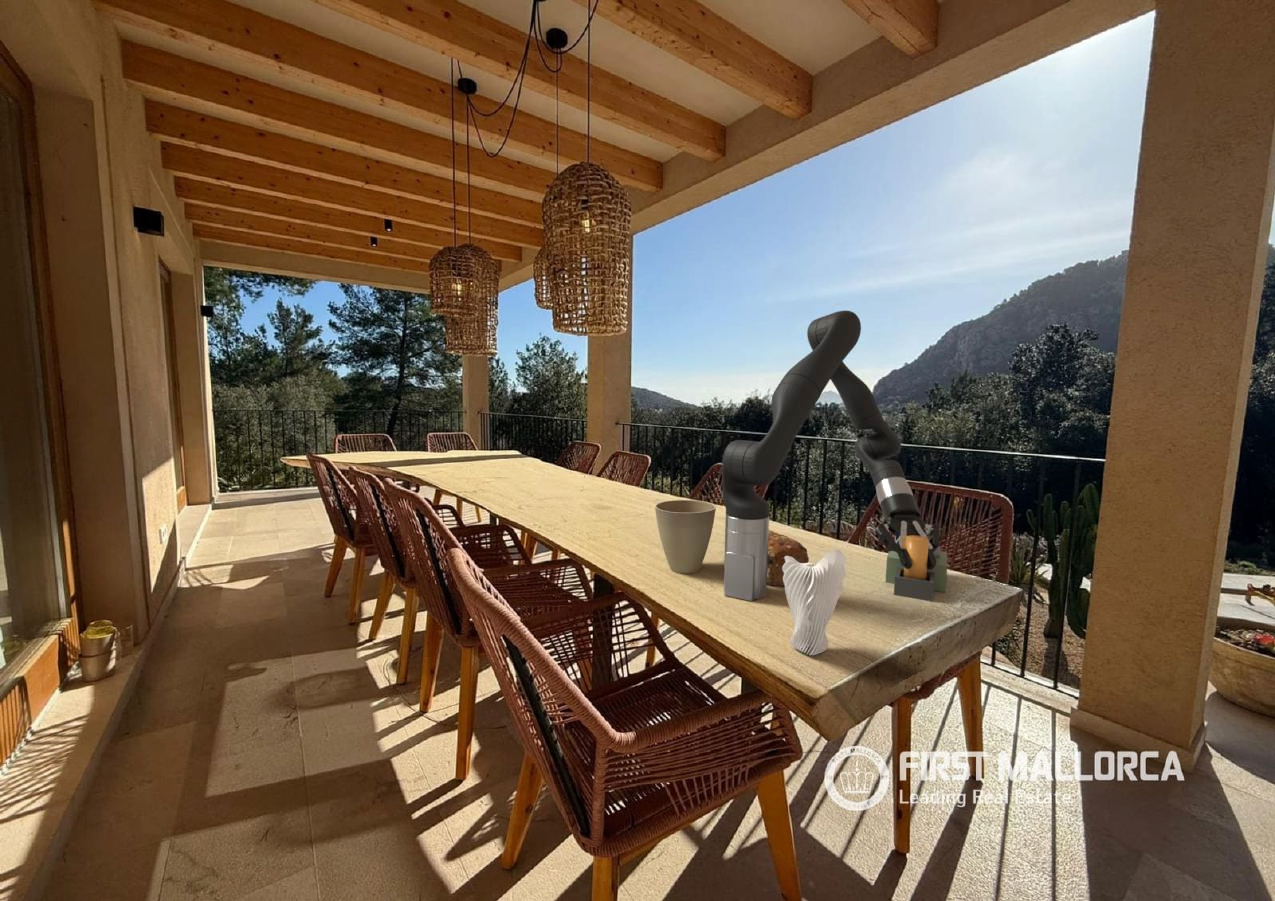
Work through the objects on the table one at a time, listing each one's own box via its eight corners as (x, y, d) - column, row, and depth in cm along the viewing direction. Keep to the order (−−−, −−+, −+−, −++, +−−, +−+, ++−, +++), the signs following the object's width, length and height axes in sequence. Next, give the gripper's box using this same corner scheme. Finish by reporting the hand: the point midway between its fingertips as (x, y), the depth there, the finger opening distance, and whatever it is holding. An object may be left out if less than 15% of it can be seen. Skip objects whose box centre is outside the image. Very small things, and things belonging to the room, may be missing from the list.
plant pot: (680, 555, 140) (681, 497, 138) (726, 568, 130) (728, 505, 128) (641, 568, 130) (642, 505, 128) (688, 584, 119) (690, 515, 118)
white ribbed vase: (773, 646, 90) (776, 544, 88) (805, 635, 94) (810, 538, 92) (812, 668, 83) (817, 558, 81) (845, 655, 87) (851, 550, 85)
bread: (808, 584, 120) (810, 541, 119) (767, 588, 117) (768, 545, 116) (767, 559, 138) (768, 522, 137) (730, 562, 135) (731, 524, 134)
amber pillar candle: (925, 587, 112) (928, 542, 111) (902, 583, 114) (905, 539, 113) (926, 581, 116) (929, 537, 115) (903, 577, 118) (906, 534, 117)
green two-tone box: (945, 603, 109) (948, 566, 108) (882, 592, 115) (884, 557, 114) (945, 576, 126) (947, 543, 125) (890, 567, 132) (892, 536, 131)
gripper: (871, 491, 120) (894, 559, 110) (934, 492, 120) (962, 559, 110) (861, 509, 126) (881, 574, 116) (920, 509, 126) (945, 575, 116)
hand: (920, 567), depth 113 cm, fingers closed on amber pillar candle, 4 cm apart
